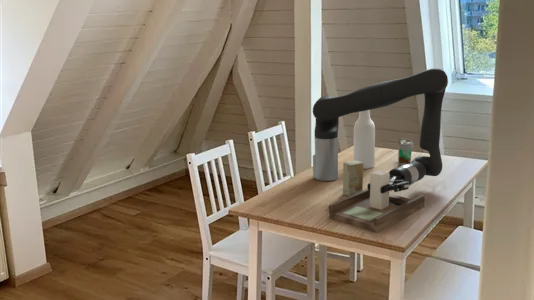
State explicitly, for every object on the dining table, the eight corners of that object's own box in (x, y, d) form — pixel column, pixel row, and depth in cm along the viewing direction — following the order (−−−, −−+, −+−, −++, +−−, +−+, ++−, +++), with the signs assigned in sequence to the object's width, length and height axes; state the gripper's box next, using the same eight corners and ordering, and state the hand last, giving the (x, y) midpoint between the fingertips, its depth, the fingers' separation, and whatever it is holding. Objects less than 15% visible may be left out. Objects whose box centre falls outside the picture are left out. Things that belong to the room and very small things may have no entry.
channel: (329, 217, 188) (329, 205, 186) (377, 195, 206) (378, 184, 205) (377, 232, 174) (377, 219, 173) (424, 207, 193) (424, 195, 192)
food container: (413, 168, 238) (414, 145, 235) (398, 167, 239) (399, 144, 237) (412, 160, 250) (413, 138, 247) (398, 159, 251) (398, 137, 248)
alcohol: (350, 167, 242) (350, 98, 234) (358, 162, 249) (358, 95, 241) (369, 170, 237) (370, 99, 229) (377, 164, 244) (378, 96, 237)
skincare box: (349, 197, 206) (349, 165, 203) (342, 193, 210) (342, 162, 207) (363, 193, 209) (363, 162, 206) (356, 190, 213) (356, 159, 210)
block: (369, 206, 191) (370, 172, 187) (377, 203, 194) (378, 169, 191) (381, 209, 187) (381, 175, 184) (388, 206, 190) (389, 172, 187)
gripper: (386, 162, 202) (357, 173, 191) (421, 170, 192) (393, 182, 181) (385, 182, 204) (357, 194, 193) (420, 190, 194) (393, 204, 183)
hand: (375, 188), depth 187 cm, fingers closed on block, 4 cm apart
